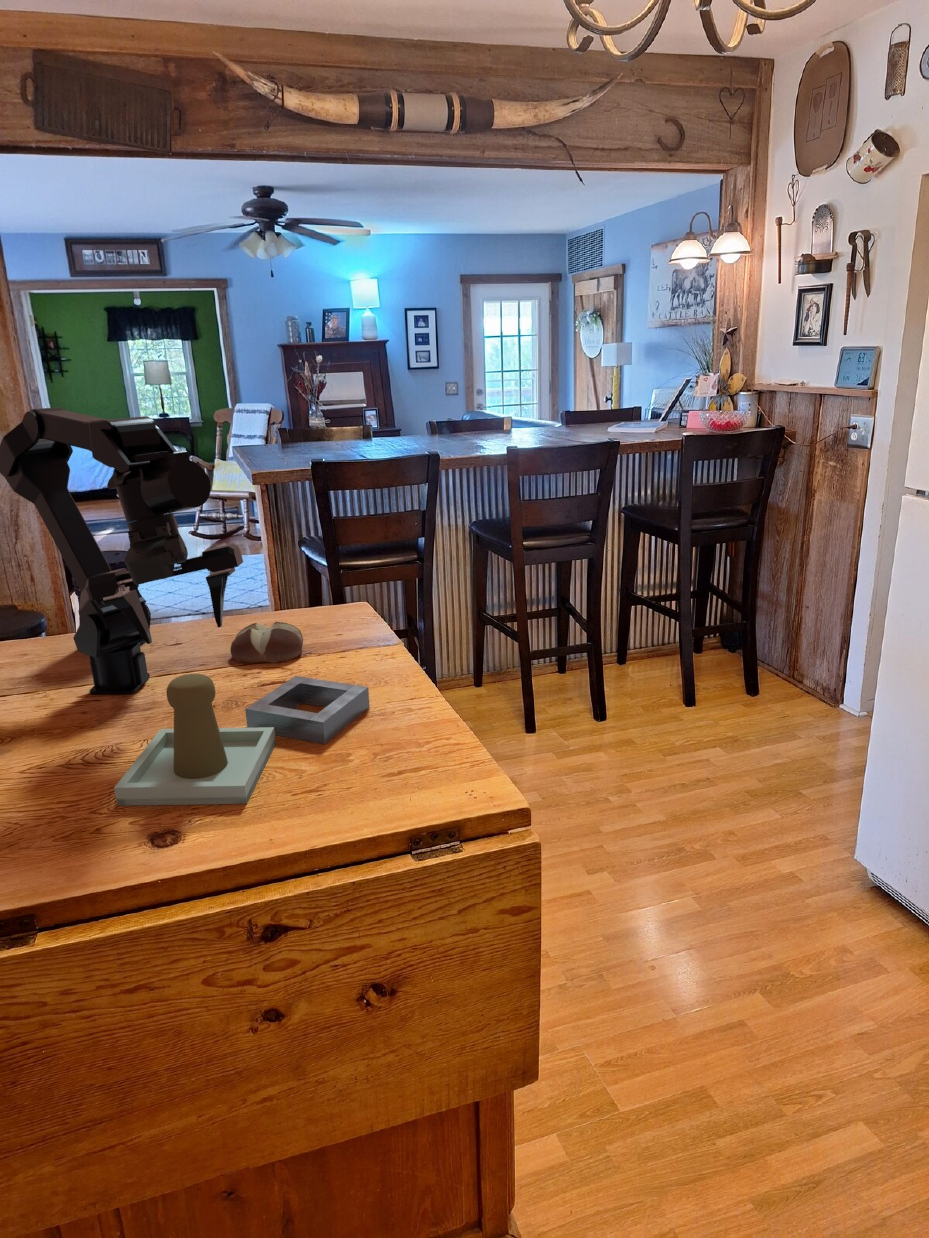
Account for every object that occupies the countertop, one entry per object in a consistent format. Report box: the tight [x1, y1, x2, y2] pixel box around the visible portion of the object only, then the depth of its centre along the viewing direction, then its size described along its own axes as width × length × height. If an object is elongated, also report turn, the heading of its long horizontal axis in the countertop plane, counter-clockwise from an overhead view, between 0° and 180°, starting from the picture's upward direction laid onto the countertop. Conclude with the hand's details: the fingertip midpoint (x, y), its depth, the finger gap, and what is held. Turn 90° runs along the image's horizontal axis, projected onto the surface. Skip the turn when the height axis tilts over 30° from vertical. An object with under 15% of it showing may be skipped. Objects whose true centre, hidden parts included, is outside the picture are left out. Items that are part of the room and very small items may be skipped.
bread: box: [230, 621, 304, 664], centre depth 130 cm, size 11×11×5 cm
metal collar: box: [244, 675, 370, 745], centre depth 107 cm, size 12×12×3 cm
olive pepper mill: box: [166, 673, 228, 779], centre depth 92 cm, size 6×6×11 cm
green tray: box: [113, 727, 277, 807], centre depth 94 cm, size 14×14×2 cm
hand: (185, 634), depth 106 cm, fingers open, 9 cm apart
